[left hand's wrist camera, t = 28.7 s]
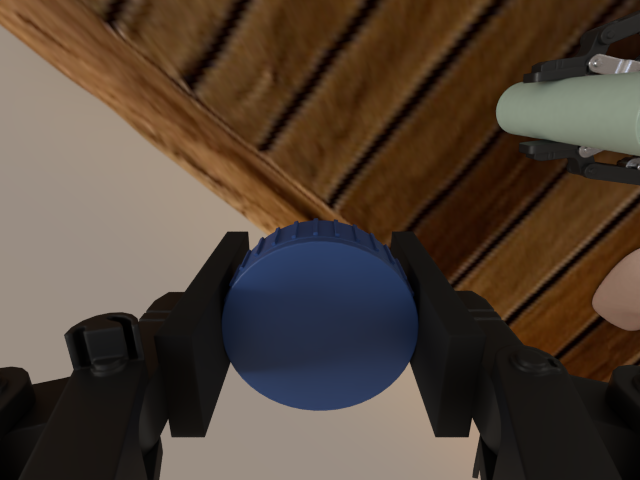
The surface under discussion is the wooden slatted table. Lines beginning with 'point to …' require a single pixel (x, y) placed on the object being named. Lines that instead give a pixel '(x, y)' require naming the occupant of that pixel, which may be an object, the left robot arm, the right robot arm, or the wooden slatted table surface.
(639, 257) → the anatomical model
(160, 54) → the wooden slatted table surface
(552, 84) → the jar
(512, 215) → the wooden slatted table surface
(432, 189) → the wooden slatted table surface
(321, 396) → the lid
